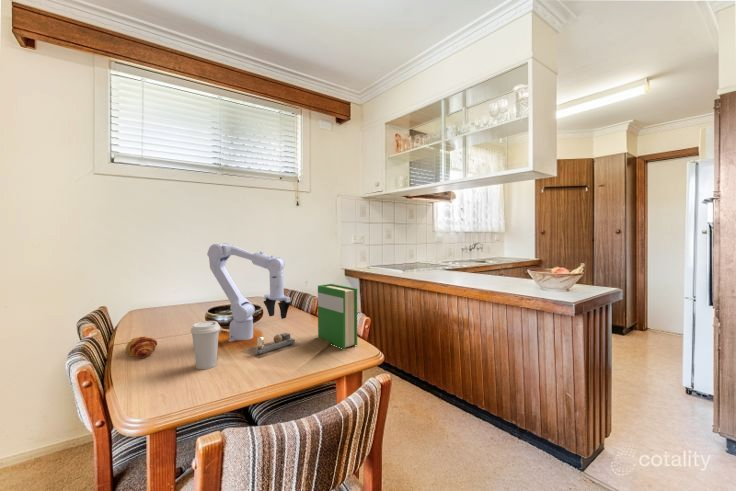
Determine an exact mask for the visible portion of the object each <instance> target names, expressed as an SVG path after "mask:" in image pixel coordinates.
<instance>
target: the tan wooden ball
mask: <svg viewBox="0 0 736 491" xmlns="http://www.w3.org/2000/svg"><path fill="white" fill-rule="evenodd" d="M282 339H283V338H282V336H281V335H280V334H275V336H274V337H273V341H274V342H275V343H278V342H282Z"/></svg>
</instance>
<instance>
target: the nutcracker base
mask: <svg viewBox="0 0 736 491" xmlns="http://www.w3.org/2000/svg"><path fill="white" fill-rule="evenodd" d="M279 335H281V336H282V338H283V339H282V341H285V340H287V339H288V338H291V333H288V332H283V333H280V334H279ZM272 344H275V342H274V340H273V341H270V342H266V343H264V347H265V346H268V345H272ZM297 346H301V343H300V342H297V341H295V343H294V344H291V345H287V346H284V347H281V348H278V349H275V350H272V351H268V352H265V353H262V354H258V353H257V349H258V346H257V345H256V346H253V347H250V348H247V349H243V350H241V352H242V353H245V354H247V355H249V356H251V357H254V358H256V359H262V358H264V357H267V356H271V355H274V354H277V353H280V352H282V351H285V350H286V351H287V350H288V349H291V348H294V347H297Z"/></svg>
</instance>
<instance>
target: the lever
mask: <svg viewBox="0 0 736 491" xmlns="http://www.w3.org/2000/svg"><path fill="white" fill-rule="evenodd" d="M256 340H257V345H256V346H258V349H257V353H258V354H262V353H265V352H268V351H272V350H275V349H278V348H281V347H284V346H287V345H291V344H294V343H295V342H296V341H295V338H291V337H290V338H288V339H287V340H285V341H282V342H278V343H275V344H272V345H268V346H265V347H264V344H265V343H264V340H265V339H264V336H257V337H256Z"/></svg>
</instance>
